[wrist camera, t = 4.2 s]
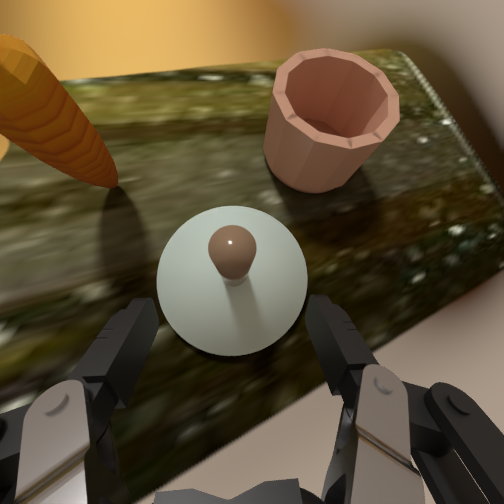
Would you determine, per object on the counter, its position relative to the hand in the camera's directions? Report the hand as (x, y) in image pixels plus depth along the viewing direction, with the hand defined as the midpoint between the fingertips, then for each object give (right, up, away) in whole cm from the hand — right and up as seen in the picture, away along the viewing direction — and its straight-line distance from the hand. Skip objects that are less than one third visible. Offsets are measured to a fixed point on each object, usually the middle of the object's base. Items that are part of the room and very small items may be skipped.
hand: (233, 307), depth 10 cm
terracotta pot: (+8, +15, +13) cm, 21 cm away
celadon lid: (-1, +1, +9) cm, 9 cm away
